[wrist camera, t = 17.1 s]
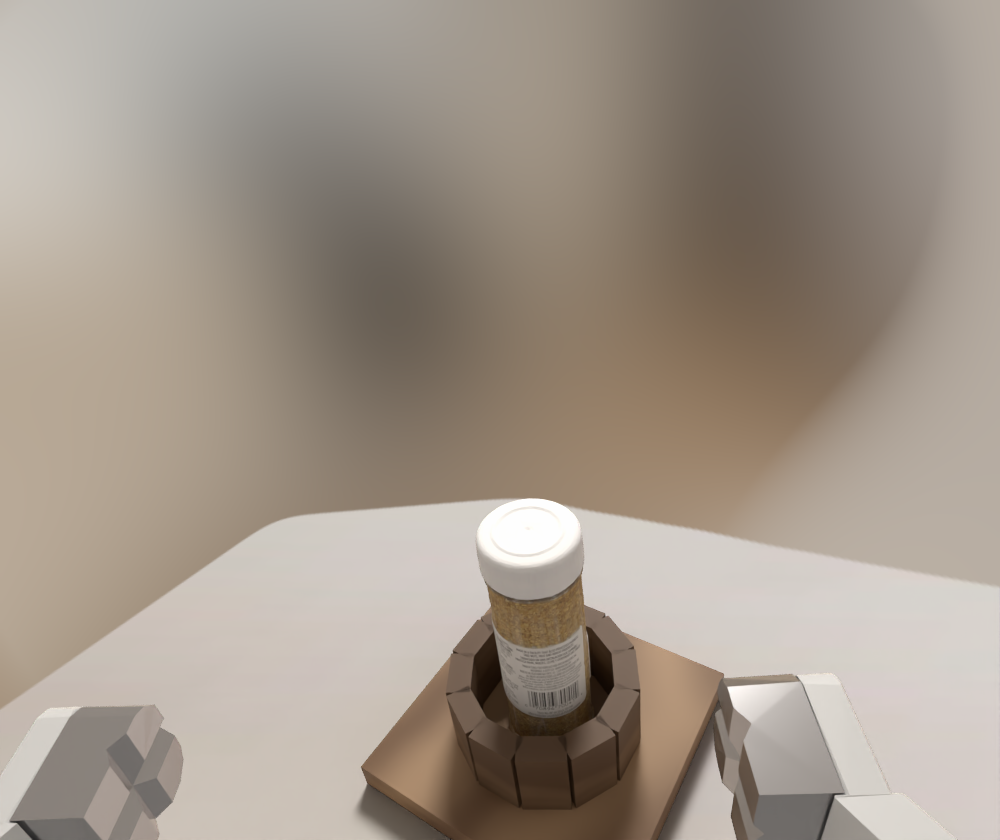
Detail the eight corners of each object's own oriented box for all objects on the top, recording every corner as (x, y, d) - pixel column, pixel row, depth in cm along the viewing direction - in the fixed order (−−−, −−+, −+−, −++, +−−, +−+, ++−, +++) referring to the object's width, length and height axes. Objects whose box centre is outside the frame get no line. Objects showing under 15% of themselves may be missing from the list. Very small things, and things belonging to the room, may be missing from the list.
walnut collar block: (367, 782, 36) (342, 720, 33) (510, 600, 46) (501, 539, 43) (610, 946, 29) (607, 884, 26) (722, 691, 39) (728, 624, 36)
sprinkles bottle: (595, 684, 38) (583, 493, 31) (593, 764, 34) (580, 568, 27) (512, 680, 39) (482, 494, 32) (502, 758, 35) (465, 567, 28)
